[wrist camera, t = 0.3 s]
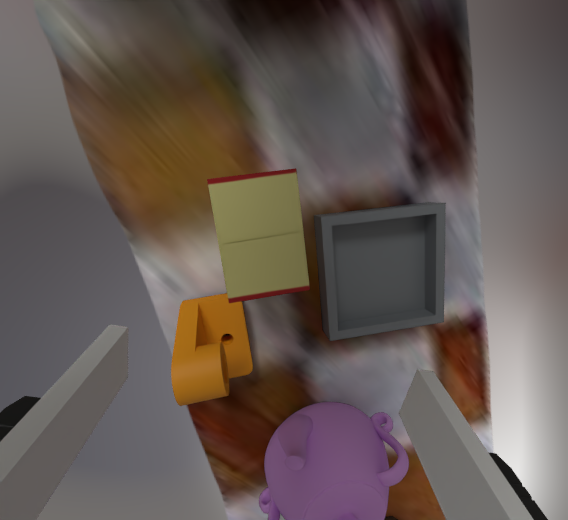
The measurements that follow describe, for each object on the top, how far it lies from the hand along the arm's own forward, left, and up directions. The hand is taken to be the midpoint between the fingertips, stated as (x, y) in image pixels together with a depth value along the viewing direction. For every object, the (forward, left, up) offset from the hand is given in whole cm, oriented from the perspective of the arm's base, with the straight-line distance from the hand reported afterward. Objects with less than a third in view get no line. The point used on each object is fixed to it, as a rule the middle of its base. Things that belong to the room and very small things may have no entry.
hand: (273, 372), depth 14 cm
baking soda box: (-5, +1, -26) cm, 27 cm away
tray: (+3, +17, -26) cm, 31 cm away
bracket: (+9, -5, -26) cm, 28 cm away
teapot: (+27, +6, -26) cm, 38 cm away
